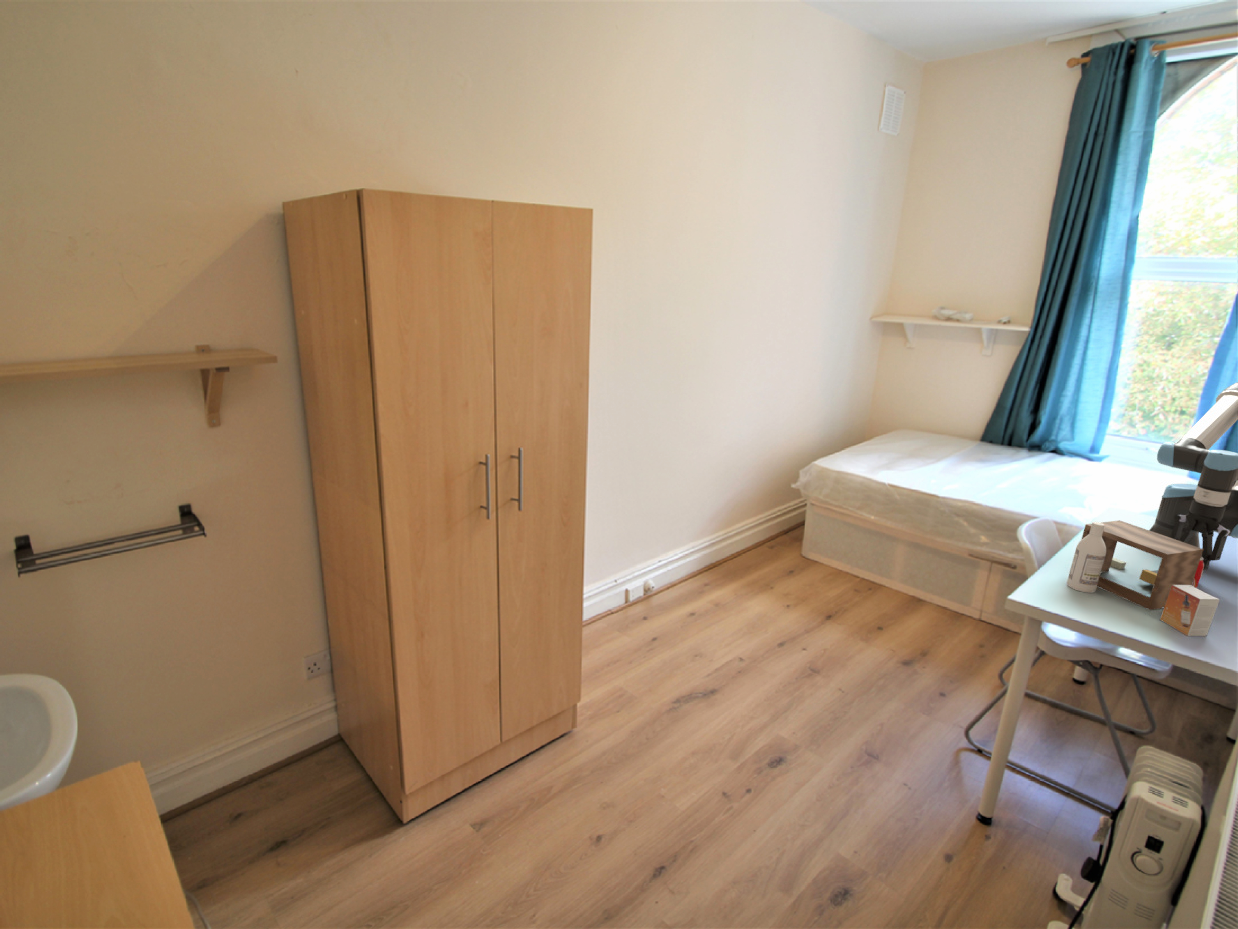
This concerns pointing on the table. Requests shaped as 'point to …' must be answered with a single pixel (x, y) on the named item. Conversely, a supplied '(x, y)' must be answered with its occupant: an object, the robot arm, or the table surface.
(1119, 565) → the plain stick
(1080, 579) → the bath foam
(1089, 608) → the table surface
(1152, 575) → the crook
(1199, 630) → the small box
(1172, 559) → the cubby
